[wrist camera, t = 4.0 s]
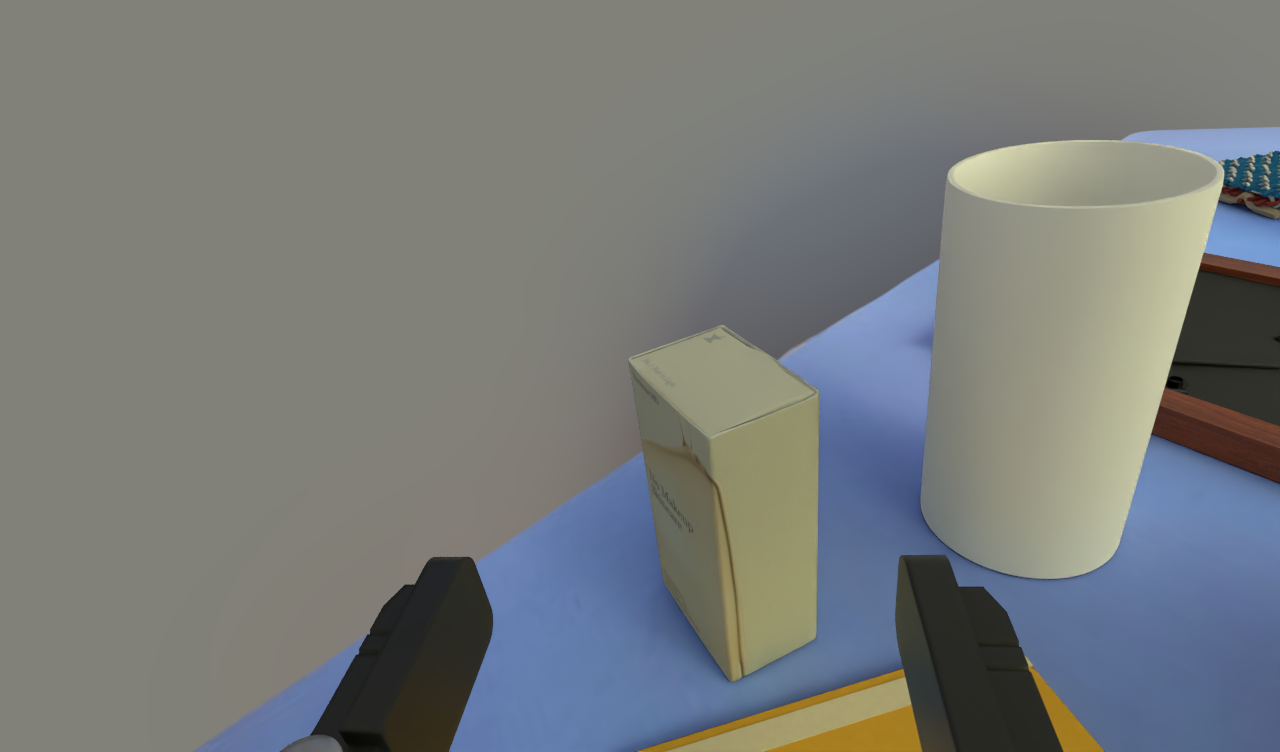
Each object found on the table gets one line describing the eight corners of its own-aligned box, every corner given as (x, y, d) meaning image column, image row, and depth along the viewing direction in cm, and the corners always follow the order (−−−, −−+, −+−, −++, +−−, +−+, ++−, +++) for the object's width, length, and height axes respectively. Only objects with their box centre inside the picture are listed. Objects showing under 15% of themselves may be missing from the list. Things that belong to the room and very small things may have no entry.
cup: (930, 446, 36) (955, 144, 28) (1111, 472, 33) (1200, 134, 25) (909, 554, 30) (935, 208, 22) (1130, 600, 27) (1256, 207, 19)
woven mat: (1168, 187, 62) (1174, 165, 61) (1281, 168, 62) (1289, 145, 61) (1268, 221, 53) (1276, 196, 52) (1400, 198, 53) (1411, 172, 52)
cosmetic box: (661, 584, 31) (618, 356, 25) (743, 545, 32) (721, 319, 26) (734, 691, 26) (702, 438, 20) (827, 639, 27) (824, 387, 21)
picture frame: (937, 350, 45) (1511, 572, 25) (939, 323, 44) (1539, 533, 24) (1108, 256, 52) (1646, 371, 33) (1113, 232, 51) (1671, 336, 32)
